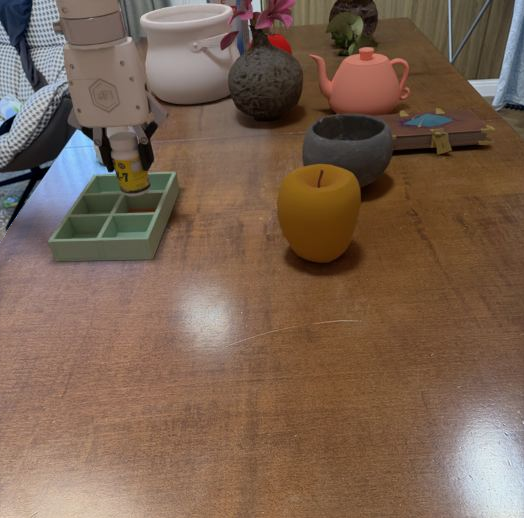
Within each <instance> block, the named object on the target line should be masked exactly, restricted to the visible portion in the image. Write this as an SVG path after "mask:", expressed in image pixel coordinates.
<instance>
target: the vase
mask: <svg viewBox="0 0 524 518" xmlns="http://www.w3.org/2000/svg"><path fill="white" fill-rule="evenodd" d="M252 2H253V0H244V6H245V8H246V9H247V12H244V11H241V10H238V11H236V12H235V13H234V14H233V15H232V16H230V17H229V18H228V20H227V24H228V26H229V25H230V23H231V22H232V20H233V19H234V18H235V17H237V16H238V15H241V16H240V18H241V20H248V22H249V24H248V25H249V31H250V32H251V37H252V39H253V40H252V39H251V41H252V45H251V47H250V48H249V49H248V50H247V51H246V52H244V53H243V54H242V55H241V56H240V57H239V58H237V60H236V61H235V62H234V64H233V65H232V67H231V69H230V71H229V74H228V85H229V91H230V95H229V96H230V98H231V101H232V102H233V104H234V105H235V107H236V109H237V110H238V111H240V112H241V113H242V114H244V115H246V116H248V117H251V118H252V119H253V120H254V121H255V122H256V123H261V124H262V123H263V124H265V123H275V122H278V121H280V120H281V119H282V118H283V116H285V115H286V114H288V113H289V112H290V111H292V110H293V109H294V108H295V107H296V106H297V105H298V104H299V102H300V99H301V97H302V92H303V84H304V73H303V67H302V66H301V64H300V61H299V60H298V59H297V58H296V57H295V56H294V55H293V54H292V55H291V54H290V53H288V52H287V51H285V50H282V49H280V48H278V47H276V46H274V45H272V44H271V43H270V41H269V38H268V36H267V35H266V34H270V32H271V29H270V28H271V27H272V26H273V25H274V23H275V20H276V21H277V20H278V21H280V22H282V24H283V25H284V27H285V29H286V30H289V28H290V27H291V26H292V25H293V22H294V18H293V17H292V14H293V11H292V9H290V8H292V7H293V6H295V5H296V3H297V2H296V0H266V2H267V8H265V9H264V6H263V5H264V4H263V0H259V4H260V5H259V6H260V11H254V7H253V3H252ZM238 33H239V31H234V32H231V33H229V34H227V35H226V36H225V37H224V38H223V39H222V40H221V42H220V47H221V51H223V50H224V49H226V48H227V47H229V46H230V45H231V44H232V43H233V41H234V39H235V38H236V36H237V34H238Z"/></svg>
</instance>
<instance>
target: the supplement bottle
mask: <svg viewBox="0 0 524 518" xmlns="http://www.w3.org/2000/svg"><path fill="white" fill-rule="evenodd" d="M129 131H130V130H129ZM129 131H126V132H119V133H115V134H113V135H111V136H110V137H109V141H110V146H111V148H112V149H113V150H112V151H111V158H112V161H113V165H114V168H115V170H114V172H115V174H116V175H117V179H118V183H119V186H120V190H121V192H122V193H123V194H124V195H126V196H139V195H142V194H145V193H146V192H148V191H149V190H150V188H151V184H150V180H149V175H148V173H149V171H144V170H143V167H142V163H141V159H140V155H139V151H138V144H139V139H138V136H137V134H136V132H135V131H134V132H133V131H130V132H129Z"/></svg>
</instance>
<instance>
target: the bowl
mask: <svg viewBox="0 0 524 518" xmlns="http://www.w3.org/2000/svg"><path fill="white" fill-rule="evenodd" d="M393 152H394V150H393V137H392V133H391V130H390V128H389V126H388V124H387V123H386V122H385V121H383V120H382V119H380V118H377V117H373V116H369V115H363V114H330V115H326V116H322V117H320V118H317V119H316V120H314V122H312V124H311V125H310V126H309V127H308V129H307V131H306V133H305V136H304V139H303V143H302V151H301V156H302V165H303V167H304V166H308V165H314V164H328V165H333V166H337V167H340V168H343V169H346V170H348V171H350V172H352V173H353V174H354V176H355V177H356V179H357V181H358V183H359V186H360V189H362V188H364V187H366V186H368V185H370V184H372V183H374V182H375V181H377V179H378V178H380V177H381V176H382V175H383V174H384V173H385V172H386V170H387V168H388V167H389V165H390V163H391V160H392V157H393Z"/></svg>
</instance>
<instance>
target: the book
mask: <svg viewBox="0 0 524 518" xmlns="http://www.w3.org/2000/svg"><path fill="white" fill-rule="evenodd" d="M373 117H377V118H380V119H382V120H383V121H385V122H386V123H387V124H388V126H389V128H390V130H391V133H392V137H393V151H403V150H414V149H416V150H417V149H429V148H430V149H431V148H432V149H433V148H436V155H437V156H438V155H441V154H445V153H449V152H452V151H453V149H452V147H458V146H459V147H460V146H473V145H475V146H476V145H478V146H479V145H480V146H489V145H492V144H493V143H494V142H493V140H492V138H489V137H487V135H488V134H492V133H494V132H496V129H495V127H494V126H492V125H489V124H487V123H486V122H484V121H483V120H482V119H481V118H479V116H477V115H476V114H475V113H474V112H473V111H472V110H471V109H470V108H460V109H458V108H457V109H446V110H442V109H441V108H440V107H435V110H433V111H432V110H431V111H419V112H406V111H405V110H399V113H392V114H391V113H388V114H387V115H375V116H373Z"/></svg>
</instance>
